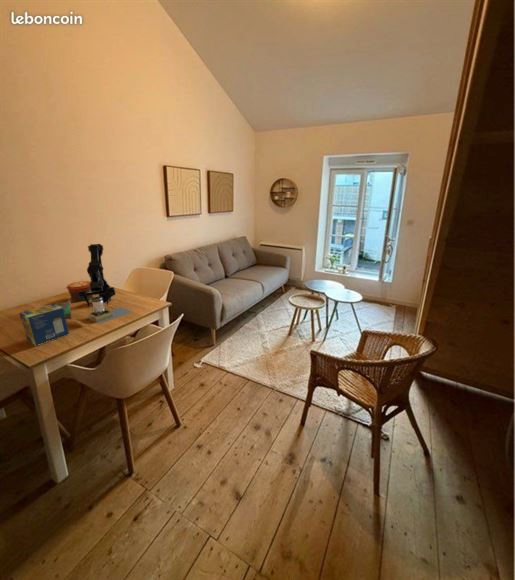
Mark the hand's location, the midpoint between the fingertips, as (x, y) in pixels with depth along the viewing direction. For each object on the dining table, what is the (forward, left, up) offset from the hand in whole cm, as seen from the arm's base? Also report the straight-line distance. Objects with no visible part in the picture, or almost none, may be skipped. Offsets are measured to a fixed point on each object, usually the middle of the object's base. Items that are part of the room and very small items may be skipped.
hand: (98, 306), depth 165 cm
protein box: (0, -27, -9) cm, 28 cm away
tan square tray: (0, 0, -7) cm, 7 cm away
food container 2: (-47, +12, -9) cm, 49 cm away
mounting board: (+1, +6, -9) cm, 10 cm away
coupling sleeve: (0, 0, -7) cm, 7 cm away
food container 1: (-19, -12, -9) cm, 24 cm away
